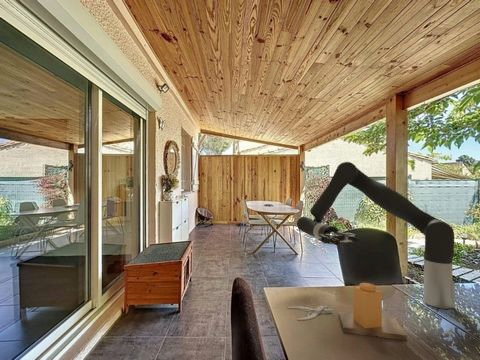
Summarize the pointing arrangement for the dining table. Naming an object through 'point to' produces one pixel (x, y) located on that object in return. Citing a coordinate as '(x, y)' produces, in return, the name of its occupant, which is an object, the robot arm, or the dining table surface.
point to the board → (387, 330)
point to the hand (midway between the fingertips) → (349, 242)
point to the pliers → (317, 311)
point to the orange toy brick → (367, 305)
